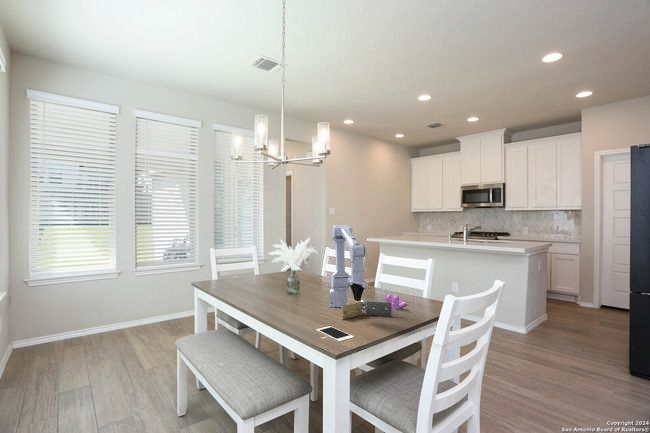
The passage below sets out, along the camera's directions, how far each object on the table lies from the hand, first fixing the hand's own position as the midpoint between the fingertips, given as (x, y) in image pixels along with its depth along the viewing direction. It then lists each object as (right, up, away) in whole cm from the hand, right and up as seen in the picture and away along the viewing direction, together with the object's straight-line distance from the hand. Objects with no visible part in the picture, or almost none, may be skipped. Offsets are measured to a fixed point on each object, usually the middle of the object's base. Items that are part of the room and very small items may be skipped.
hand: (357, 300), depth 149 cm
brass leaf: (-1, -9, +6) cm, 11 cm away
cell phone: (-11, -10, -16) cm, 22 cm away
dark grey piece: (+10, -9, +8) cm, 16 cm away
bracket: (+24, -10, +24) cm, 36 cm away
